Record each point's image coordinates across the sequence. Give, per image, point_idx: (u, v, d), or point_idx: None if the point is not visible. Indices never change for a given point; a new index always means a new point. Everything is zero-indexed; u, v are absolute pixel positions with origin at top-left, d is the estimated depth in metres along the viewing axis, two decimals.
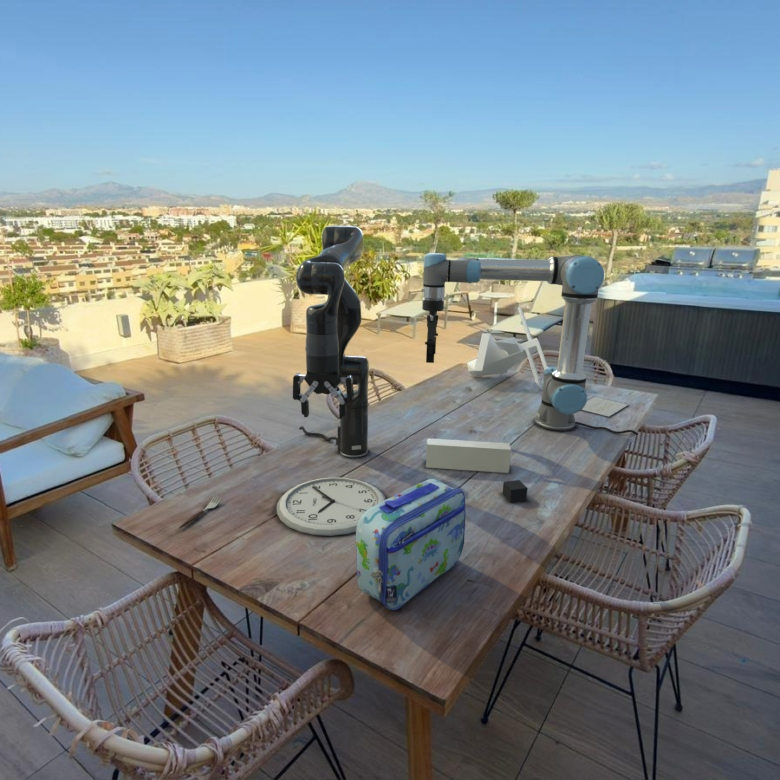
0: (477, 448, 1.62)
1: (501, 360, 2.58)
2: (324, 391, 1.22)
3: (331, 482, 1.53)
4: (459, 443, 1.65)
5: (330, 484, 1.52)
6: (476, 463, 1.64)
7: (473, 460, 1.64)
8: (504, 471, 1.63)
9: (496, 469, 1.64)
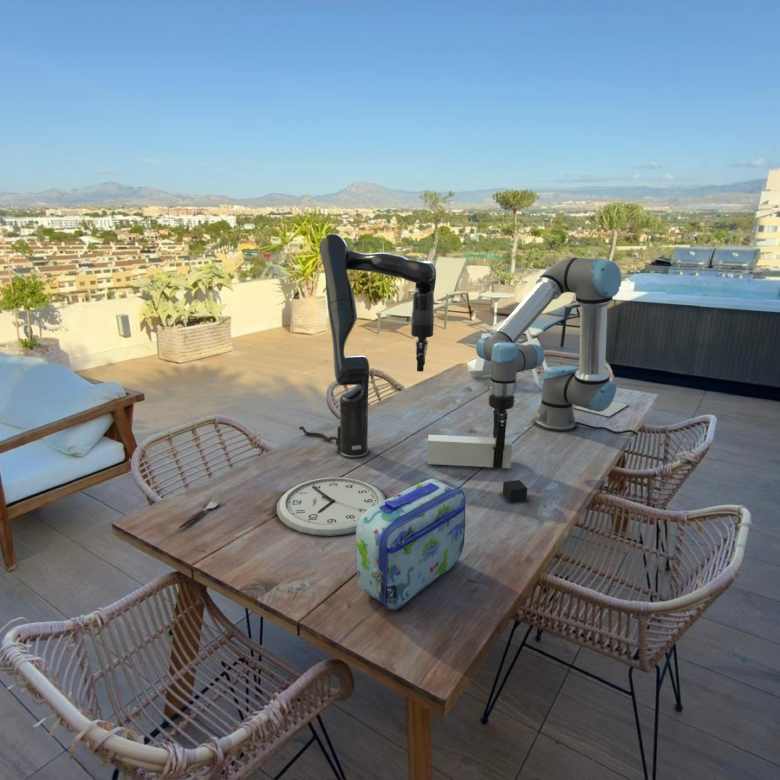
0: (479, 444, 1.62)
1: None
2: None
3: (331, 482, 1.53)
4: (460, 439, 1.64)
5: (330, 484, 1.52)
6: (478, 459, 1.64)
7: (474, 456, 1.63)
8: (506, 466, 1.63)
9: None
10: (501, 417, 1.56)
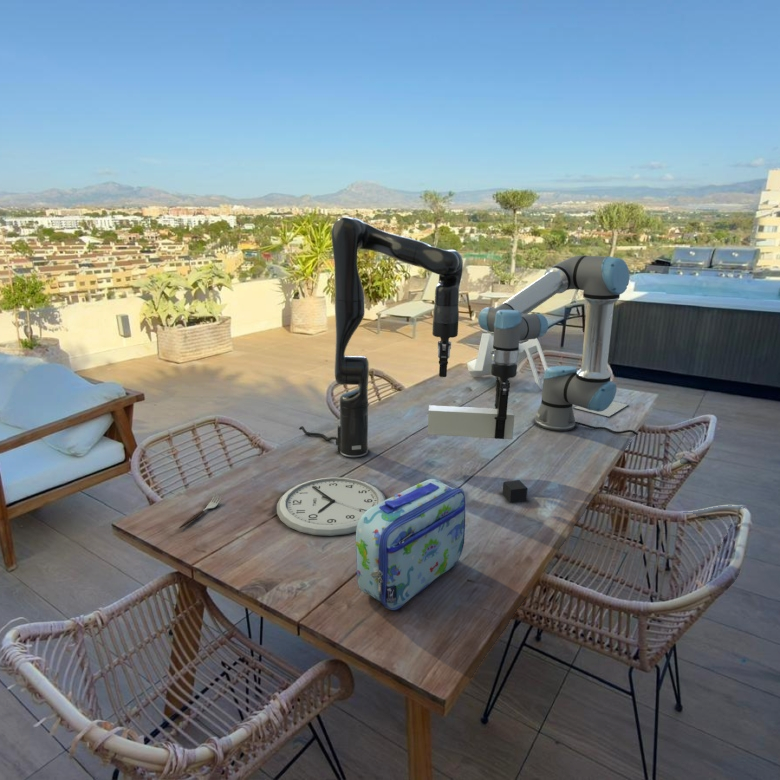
0: (480, 414, 1.59)
1: None
2: None
3: (331, 482, 1.53)
4: (461, 410, 1.61)
5: (330, 484, 1.52)
6: (479, 430, 1.60)
7: (475, 427, 1.60)
8: (507, 437, 1.60)
9: None
10: (503, 385, 1.53)
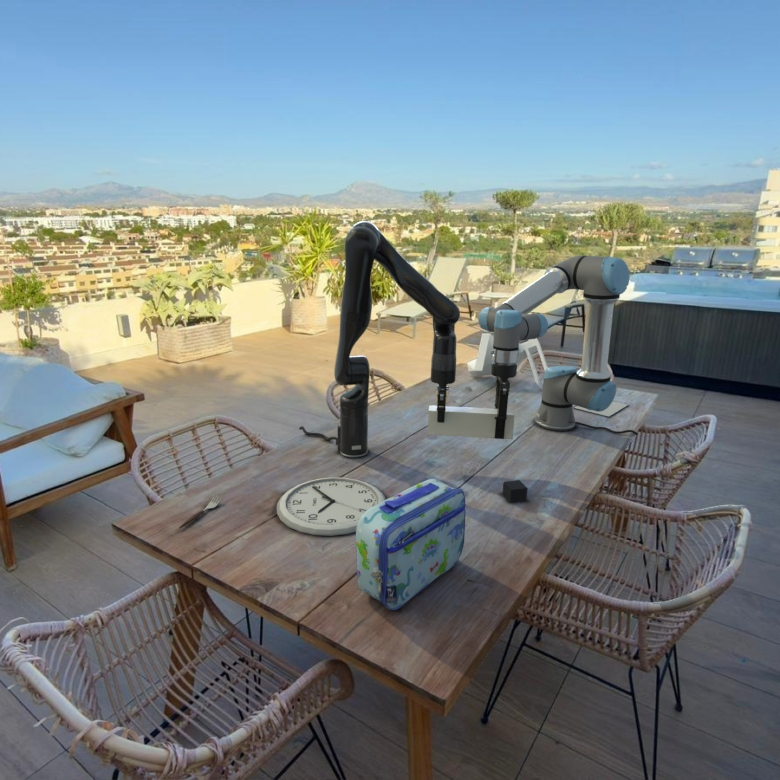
0: (480, 414, 1.59)
1: None
2: None
3: (331, 482, 1.53)
4: (461, 410, 1.61)
5: (330, 484, 1.52)
6: (479, 430, 1.60)
7: (475, 427, 1.60)
8: (508, 437, 1.60)
9: None
10: (503, 385, 1.53)
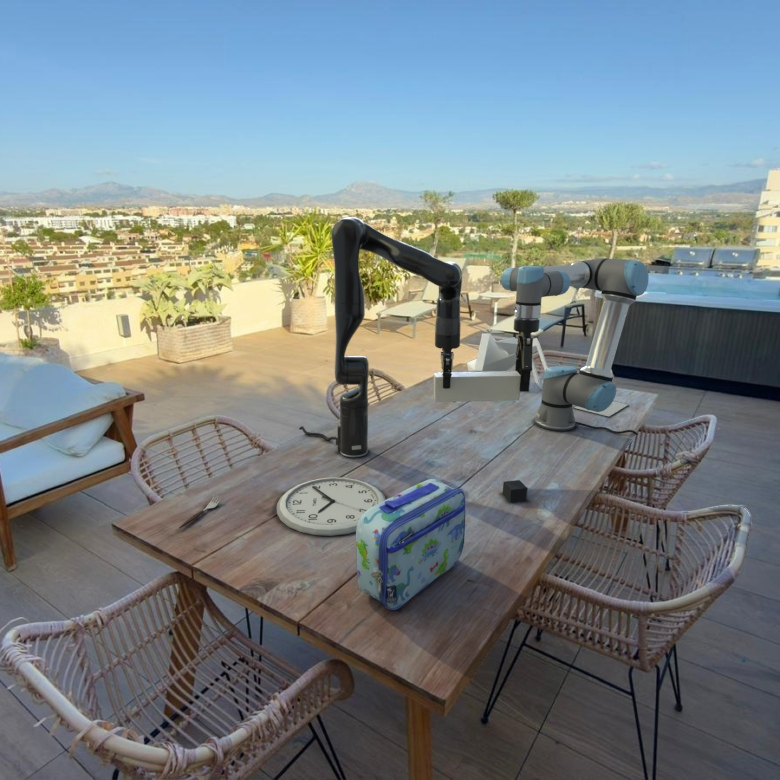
0: (487, 377, 1.58)
1: (501, 360, 2.58)
2: None
3: (331, 482, 1.53)
4: (467, 374, 1.60)
5: (330, 484, 1.52)
6: (486, 393, 1.60)
7: (483, 390, 1.60)
8: (514, 399, 1.61)
9: (506, 397, 1.61)
10: (527, 337, 1.56)
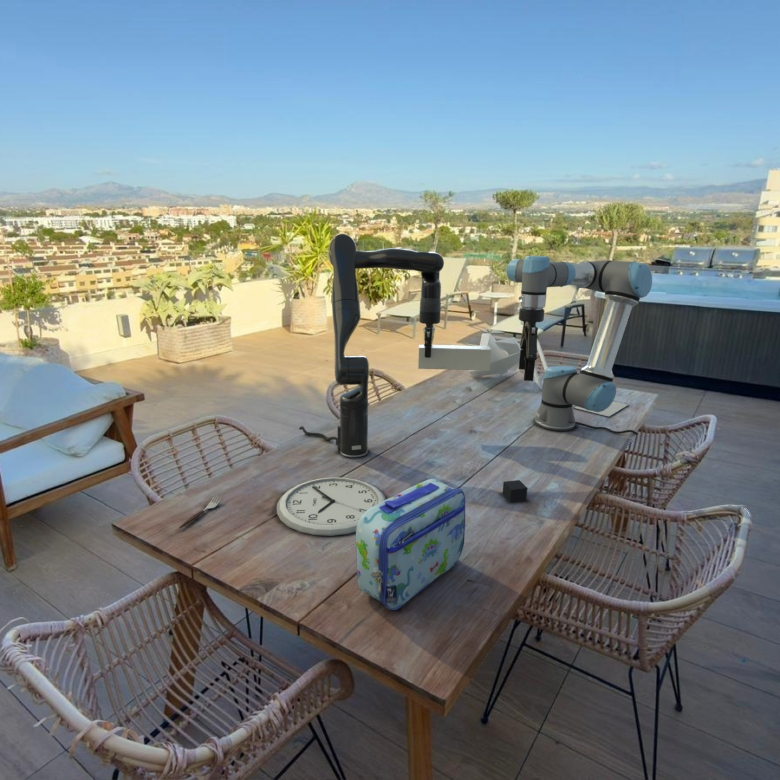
0: (462, 349, 1.89)
1: (501, 360, 2.58)
2: None
3: (331, 482, 1.53)
4: (446, 347, 1.91)
5: (330, 484, 1.52)
6: (461, 363, 1.90)
7: (458, 360, 1.90)
8: (485, 369, 1.91)
9: (478, 367, 1.91)
10: (532, 327, 1.57)
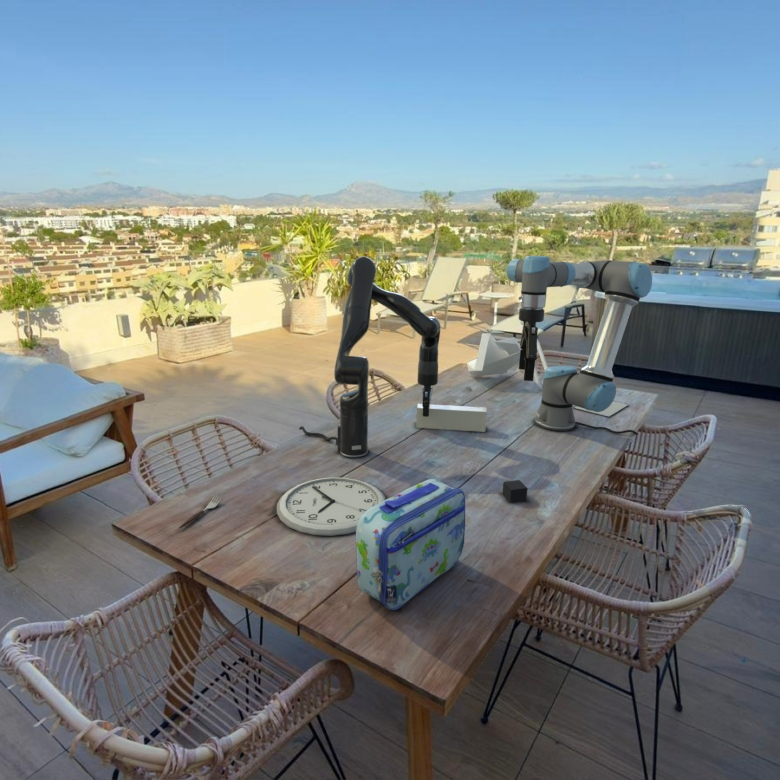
0: (459, 411, 1.95)
1: (501, 360, 2.58)
2: None
3: (331, 482, 1.53)
4: (443, 407, 1.97)
5: (330, 484, 1.52)
6: (458, 424, 1.97)
7: (455, 421, 1.96)
8: (481, 430, 1.96)
9: (474, 428, 1.96)
10: (532, 327, 1.57)
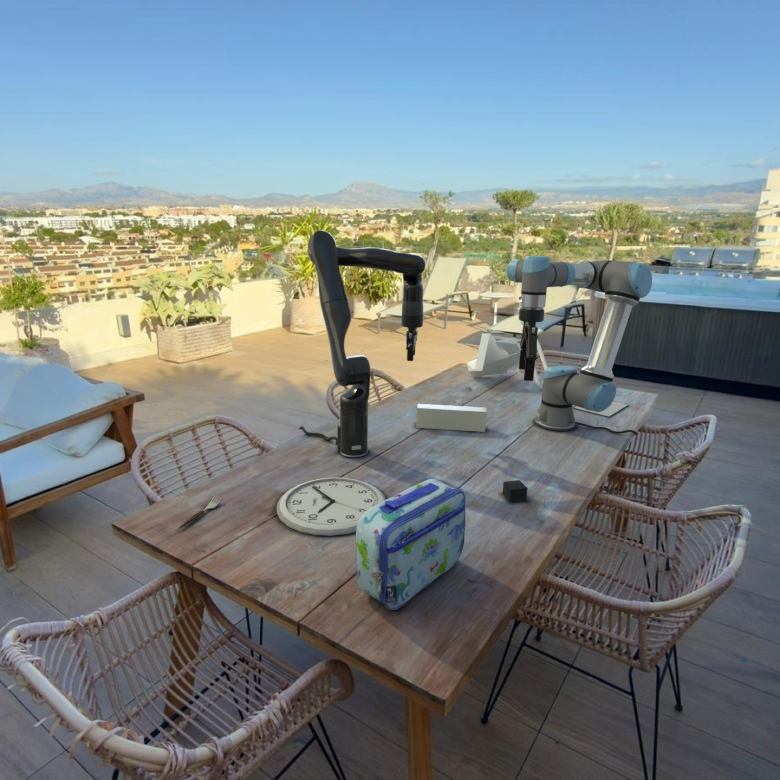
0: (459, 411, 1.95)
1: (501, 360, 2.58)
2: None
3: (331, 482, 1.53)
4: (443, 407, 1.97)
5: (330, 484, 1.52)
6: (458, 424, 1.97)
7: (455, 421, 1.96)
8: (481, 430, 1.96)
9: (474, 428, 1.96)
10: (532, 327, 1.57)
